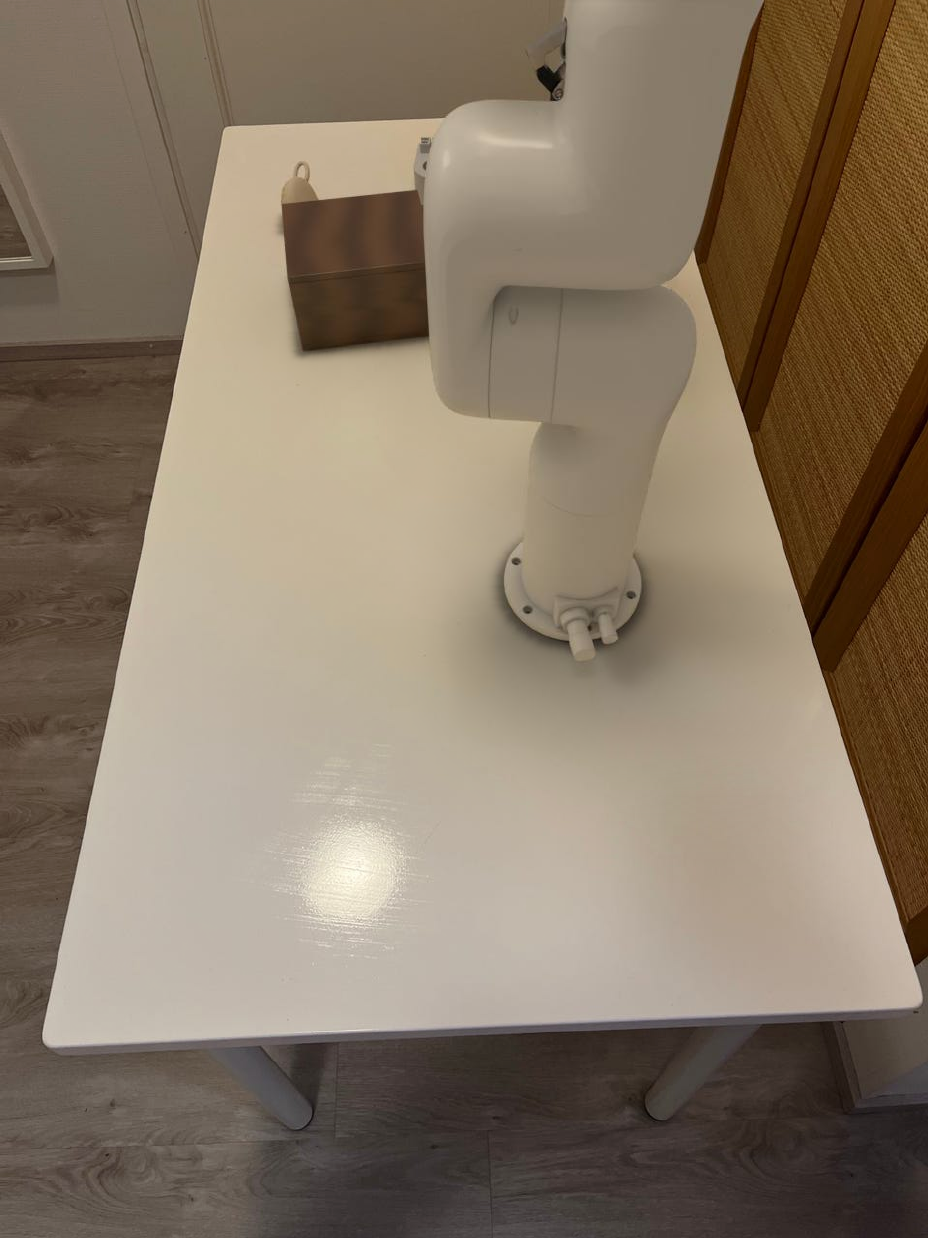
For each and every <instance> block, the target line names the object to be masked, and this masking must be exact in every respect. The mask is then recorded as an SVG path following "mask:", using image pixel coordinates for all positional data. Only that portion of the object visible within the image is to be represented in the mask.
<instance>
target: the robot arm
mask: <svg viewBox="0 0 928 1238" xmlns="http://www.w3.org/2000/svg"><path fill="white" fill-rule="evenodd" d="M764 2H765V0H564V6H563V7H564V8H563V14H562V21H560V22H559V23H557V24H556V25H554V26H553V27H552V28H550V29H548V30H547V31H545V32H544V33H542V34H541V35H539V36H538V37H537V38H535V39H533V40H531V42H528V44H526V47H525V53H526V55H527V57H528V60H529V62H530V64H531V67H532V69H533V71H534V73H535V76H536V78H537V80H538V82H539V83H540V84H541V85H542V86H544V88H545V89H546V90H547V91H548V92H549V93H550V94H549V95H550V96H549V100H523V99H484V100H476V101H472V102H468V103H465V104H462V105H460V106H458V107H456V108H454V109H453V110H452V111H451V112H449V113H448V114H447V115H446V116H445V117H444V118H443V120H442V121H441V122H440V123H439V125H438V127H437V129H436V131H435V133H434V135H433V137H434V138H433V140H432V139H431V142H432V144H431V148H430V151H429V155H428V159H427V166H426V173H425V182H424V198H423V224H424V249H425V267H426V285H427V304H428V322H429V336H428V337H429V339H428V340H429V341H428V342H429V354H430V355H429V357H430V367H431V376H432V380H433V385H434V388H435V392H436V395H437V396H438V398H439V400H440V402H442V404H443V405H444V406H445V407H446V408H447V409H448V410H450V411H452V412H454V413H456V414H458V415H461V416H465V417H472V418H478V419H487V420H499V421H500V420H501V421H517V422H531V423H534V422H535V423H540V425H539V426H538V428H537V429H536V432H535V434H534V436H533V439H532V442H531V445H530V449H529V454H528V455H529V456H528V467H527V480H526V481H527V483H526V496H525V497H526V498H525V513H524V527H523V540H522V541H520V543H518V544H517V546H516V547H515V548H514V549H513V551H512V552H511V553H510V555H509V556H508V559H507V560H506V565H505V569H504V572H503V573H504V574H503V575H504V576H503V585H504V594H505V597H506V600H507V602H508V605H509V607H510V608H511V609H512V611H513V613H514V614H515V615H516V617H518V619H519V620H520V621H521V622H522V623H524V624H525V625H526V626H528V627H529V628H531V629H532V630H533V631H535V632H537V633H538V634H541V635H543V636H546V637H548V638H552V639H554V640H559V641H567V642H569V646H570V648H571V649H570V650H571V653H572V657H573V659H574V660H575V661H576V662H587V661H589V660H592V659H593V658H594V657H595V656H596V655H597V651H596V650H595V645H594V642H593V640H597V639H600V638H601V641H602V643H603V644H605V645H610V644H614V643H615V642H617V640H618V639H619V636H618V633H617V630H619V629H620V628H621V627H622V626H624V625H625V624H626V623H627V622H628V621H630V618H631V617H632V615H633V614H634V613H635V611H636V609H637V606H638V604H639V602H640V597H641V594H642V583H643V582H642V581H643V580H642V575H641V570H640V567H639V565H638V563H637V560H636V559H635V557H634V556H633V554H634V549H635V545H636V541H637V537H638V533H639V529H640V525H641V520H642V516H643V512H644V510H645V509H644V508H645V504H646V499H647V495H648V491H649V487H650V484H651V480H652V476H653V471H654V468H655V463H656V460H657V457H658V453H659V449H660V445H661V443H662V439H663V437H664V434H665V431H666V429H667V427H668V424H669V422H670V420H671V418H672V416H673V414H674V413H675V410H676V408H677V405H678V404H679V401H680V400H681V398H682V396H683V394H684V391H685V390H686V387H687V384H688V382H689V379H690V376H691V374H692V370H693V366H694V362H695V358H696V352H697V324H696V321H695V316H694V314H693V312H692V310H691V308H690V306H689V305H688V304H687V302H686V301H685V299H684V298H683V297H682V296H681V295H679V294H678V293H676V292H675V291H674V290H672V289H670V288H668V287H666V286H664V285H663V284H666V283H668V282H669V281H671V280H673V279H674V278H676V277H677V276H678V275H679V274H680V272H681V271H682V270H683V269H684V267H685V266H686V265H687V264H688V261H689V259H690V257H691V256H692V253H693V252H694V249H695V247H696V244H697V241H698V238H699V236H700V233H701V229H702V226H703V223H704V219H705V216H706V213H707V212H706V211H707V209H708V205H709V199H710V196H711V191H712V187H713V185H714V184H713V183H714V180H715V175H716V170H717V166H718V163H719V158H720V156H721V155H720V154H721V150H722V146H723V142H724V139H725V138H724V137H725V133H726V129H727V125H728V121H729V116H730V112H731V108H732V104H733V99H734V95H735V91H736V86H737V82H738V78H739V73H740V70H741V69H740V68H741V64H742V60H743V56H744V53H745V51H746V50H745V49H746V46H747V43H748V40H749V36H750V33H751V31H752V28H753V26H754V24H755V22H756V19H757V17H758V15H759V13H760V11H761V8H762V6H763V4H764ZM557 48H559V52H560V57H561V59H560V61H559V62H558V63H557V65H556V66H555V67H554V69H553V70H552V69H551V68H550V67H549V65H547V63H546V60H545V58H546V56H547V55H549V54H550V53H551V52H552V51H554V50H557Z"/></svg>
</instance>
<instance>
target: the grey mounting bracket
mask: <svg viewBox="0 0 928 1238" xmlns="http://www.w3.org/2000/svg"><path fill="white" fill-rule="evenodd" d="M433 138H434V136H432V137H431V136H421V137H420V143H418V144H417V148H416V152H415V157H414V161H413V178H414V180H413V181H414V190H418V193H419V198H420V202H421V205H423V198H424V182H425V173H426V166H427V159H428V155H429V151H430V148H431V144H432V140H433Z"/></svg>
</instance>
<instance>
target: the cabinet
mask: <svg viewBox="0 0 928 1238" xmlns="http://www.w3.org/2000/svg"><path fill="white" fill-rule="evenodd" d="M281 214H282V215H281V216H282V228H283V230H282V231H283V240H284V241H283V242H284V253H285V254H284V255H285V264H286V265H285V267H286V278H287V282H288V288H289V292H290V297H291V301H292V307H293V311H294V316H295V320H296V325H297V329H298V335H299V339H300V344H301V349H302V351H309V350H319V349H328V348H336V347H345V346H352V345H353V346H354V345H362V344H370V343H378V342H387V341H395V340H404V339H411V338H413V339H414V338H419V337H420V338H421V337H429V322H428V304H427V285H426V267H425V249H424V224H423V211H422V206H421V202H420V198H419V193H418V190H415V189H410V190H401V191H393V192H392V191H391V192H383V193H373V194H362V195H354V196H353V195H352V196H346V197H345V196H344V197H335V198H325V199H318V200H315V201H306V202H296V203H287V204H282V206H281Z"/></svg>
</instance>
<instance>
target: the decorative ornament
mask: <svg viewBox="0 0 928 1238" xmlns="http://www.w3.org/2000/svg"><path fill="white" fill-rule="evenodd" d="M302 166H303V167H304V171H305V173H304V177H302V176H301V177H300V176H298V175H299V169H300V168H301V167H302ZM310 176H311V171H310V166H309V164H308V162H306V161H305V160H300V161H298V162H297V163H296V165H295V166H294V168H293V172H292V177H291V178H289V180H287V181H286V182H285V183H284V186H283V187H282V190H281V196H280V206H281V207H282V204H287V203H296V202H306V201H315V200H319V197H318V195H317V193H316V191H315V190H314V188H313V186H312V185H311V184H310V182H309V181H310V178H311V177H310Z"/></svg>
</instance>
